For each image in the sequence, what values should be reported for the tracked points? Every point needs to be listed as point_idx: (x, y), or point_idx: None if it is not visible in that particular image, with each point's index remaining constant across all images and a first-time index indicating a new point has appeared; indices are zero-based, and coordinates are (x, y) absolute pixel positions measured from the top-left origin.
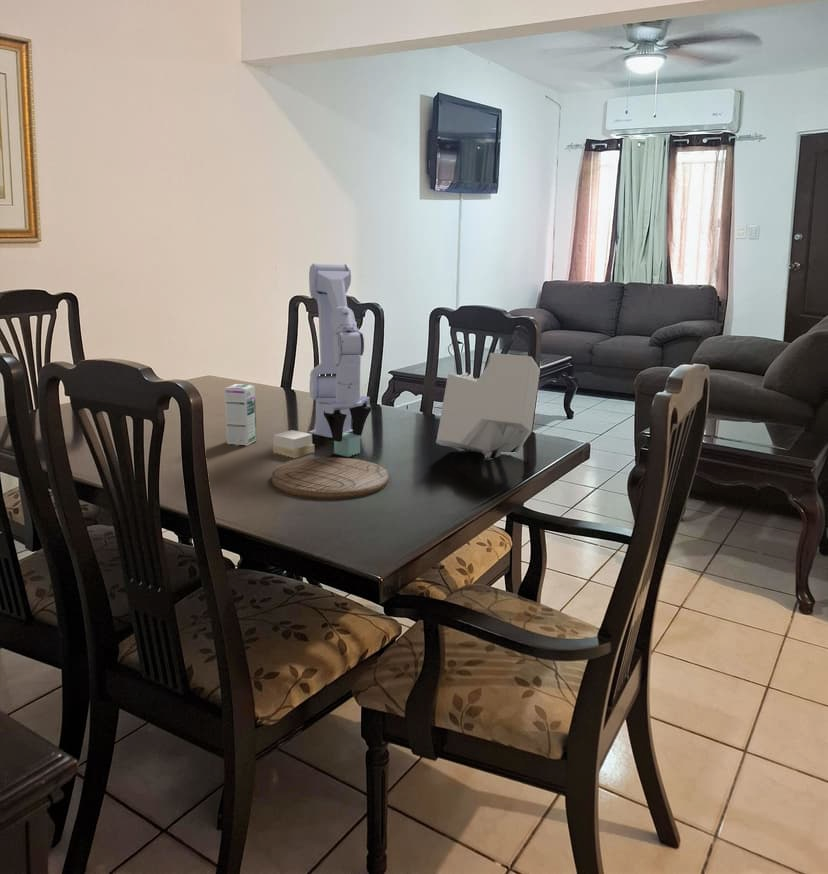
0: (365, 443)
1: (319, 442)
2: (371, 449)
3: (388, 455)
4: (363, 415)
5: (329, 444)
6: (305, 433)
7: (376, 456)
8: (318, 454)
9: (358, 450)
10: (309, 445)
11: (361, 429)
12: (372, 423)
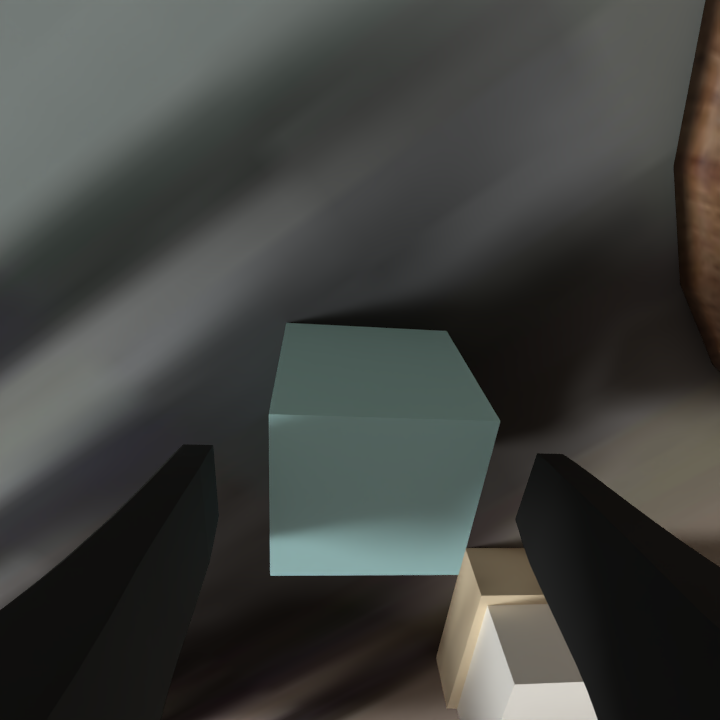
0: (14, 453)
1: (257, 637)
2: (112, 314)
3: (144, 22)
4: (63, 717)
5: (250, 586)
6: (516, 716)
7: (276, 125)
8: (499, 508)
9: (311, 335)
10: (522, 600)
11: (181, 488)
12: None
